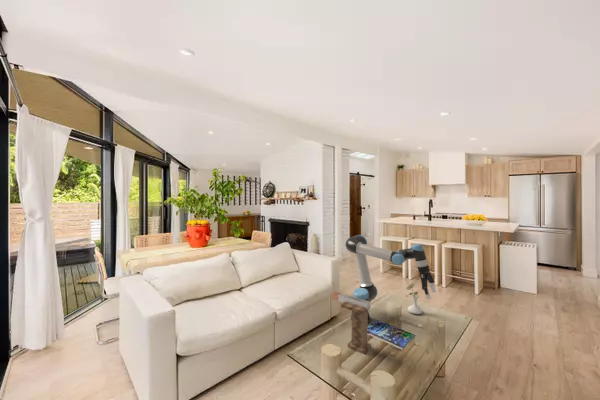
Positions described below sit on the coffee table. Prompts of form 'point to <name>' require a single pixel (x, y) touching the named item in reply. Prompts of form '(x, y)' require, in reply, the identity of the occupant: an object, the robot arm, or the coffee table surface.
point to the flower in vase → (414, 307)
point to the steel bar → (351, 300)
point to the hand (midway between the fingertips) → (431, 295)
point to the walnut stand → (358, 328)
